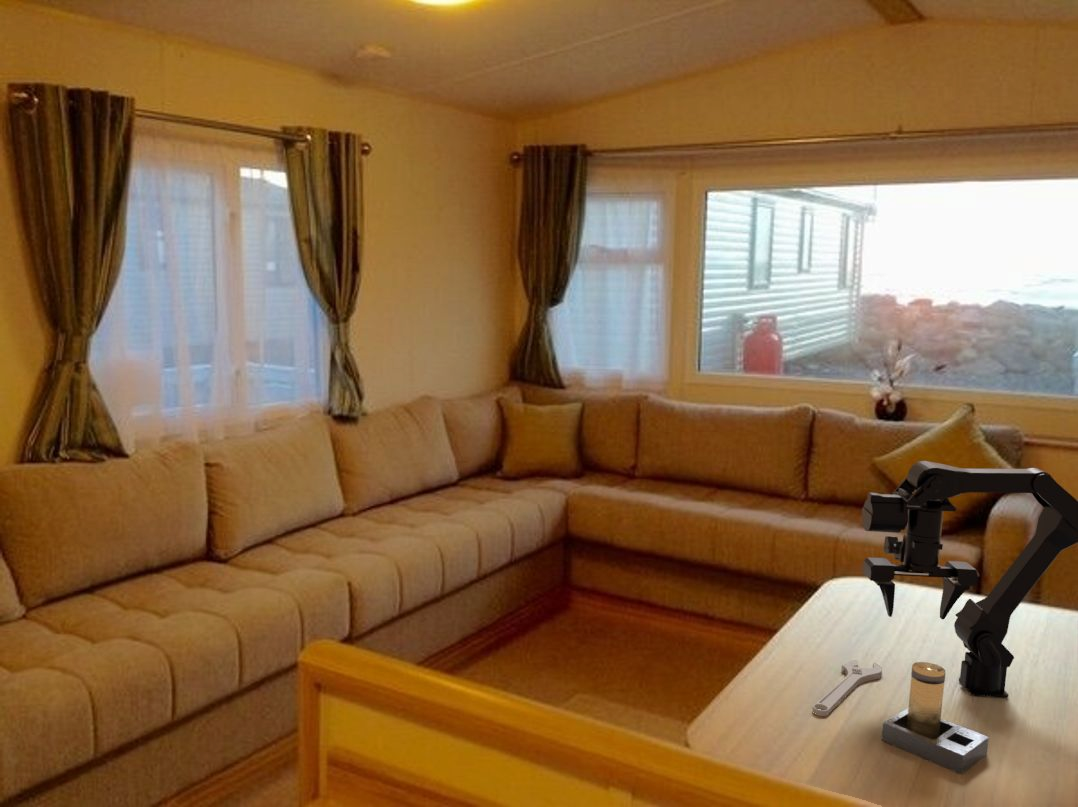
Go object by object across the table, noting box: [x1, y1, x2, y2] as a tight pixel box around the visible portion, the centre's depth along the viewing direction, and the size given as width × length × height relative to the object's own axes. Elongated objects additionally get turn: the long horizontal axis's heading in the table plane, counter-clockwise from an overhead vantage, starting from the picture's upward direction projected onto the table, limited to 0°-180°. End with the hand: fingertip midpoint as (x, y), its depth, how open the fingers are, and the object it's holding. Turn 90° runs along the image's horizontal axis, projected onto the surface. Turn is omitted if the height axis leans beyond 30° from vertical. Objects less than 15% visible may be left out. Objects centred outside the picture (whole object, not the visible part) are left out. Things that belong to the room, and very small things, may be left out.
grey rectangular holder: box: [881, 706, 990, 775], centre depth 146 cm, size 13×9×3 cm
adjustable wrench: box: [812, 659, 883, 717], centre depth 166 cm, size 25×6×2 cm, turn 137°
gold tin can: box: [907, 661, 946, 740], centre depth 146 cm, size 5×5×12 cm
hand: (915, 617), depth 166 cm, fingers open, 9 cm apart
